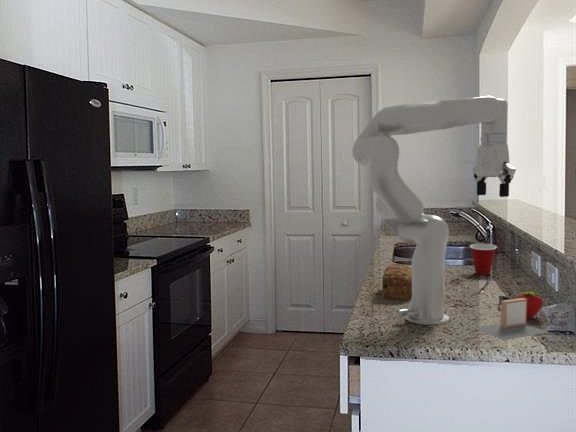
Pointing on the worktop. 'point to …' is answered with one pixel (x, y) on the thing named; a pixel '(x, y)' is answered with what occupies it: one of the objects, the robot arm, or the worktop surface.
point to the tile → (513, 312)
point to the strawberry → (532, 303)
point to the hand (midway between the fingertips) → (492, 195)
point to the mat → (510, 331)
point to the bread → (397, 282)
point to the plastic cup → (483, 257)
